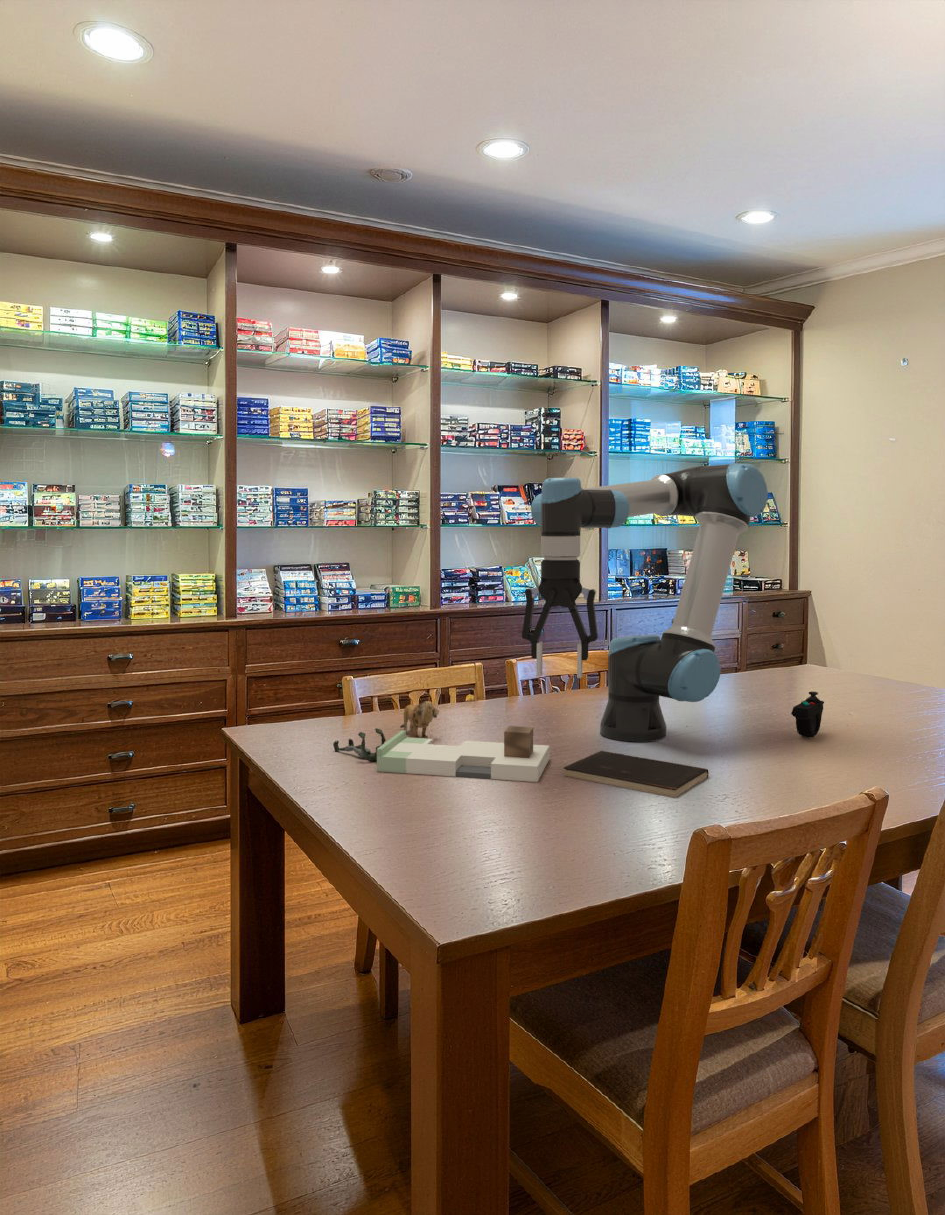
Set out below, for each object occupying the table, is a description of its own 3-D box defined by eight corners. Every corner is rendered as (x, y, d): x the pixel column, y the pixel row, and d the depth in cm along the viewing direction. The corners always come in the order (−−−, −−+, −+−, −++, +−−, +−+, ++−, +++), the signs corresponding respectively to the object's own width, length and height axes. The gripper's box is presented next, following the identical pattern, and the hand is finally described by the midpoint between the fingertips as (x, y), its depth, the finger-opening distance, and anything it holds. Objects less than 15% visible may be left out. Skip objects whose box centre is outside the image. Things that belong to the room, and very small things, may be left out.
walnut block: (533, 751, 172) (533, 727, 172) (529, 758, 167) (529, 733, 167) (508, 750, 173) (508, 726, 173) (504, 756, 169) (504, 731, 168)
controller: (825, 733, 199) (826, 691, 199) (807, 744, 190) (809, 699, 189) (806, 731, 202) (807, 689, 201) (788, 741, 193) (789, 697, 192)
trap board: (549, 759, 177) (549, 738, 177) (537, 782, 162) (537, 758, 161) (401, 750, 185) (401, 730, 184) (377, 771, 169) (376, 749, 169)
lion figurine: (442, 740, 194) (441, 701, 193) (421, 744, 191) (421, 704, 190) (409, 728, 206) (409, 691, 205) (390, 731, 203) (389, 693, 202)
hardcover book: (674, 801, 152) (675, 788, 152) (563, 778, 166) (563, 767, 166) (708, 779, 165) (708, 768, 165) (602, 760, 179) (602, 750, 179)
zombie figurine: (352, 718, 187) (393, 731, 175) (352, 749, 187) (392, 764, 176) (331, 721, 183) (371, 735, 172) (331, 752, 184) (370, 768, 173)
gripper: (614, 558, 166) (612, 674, 169) (512, 557, 171) (512, 671, 173) (611, 559, 159) (610, 681, 161) (505, 558, 164) (505, 677, 166)
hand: (559, 675), depth 167 cm, fingers open, 7 cm apart
